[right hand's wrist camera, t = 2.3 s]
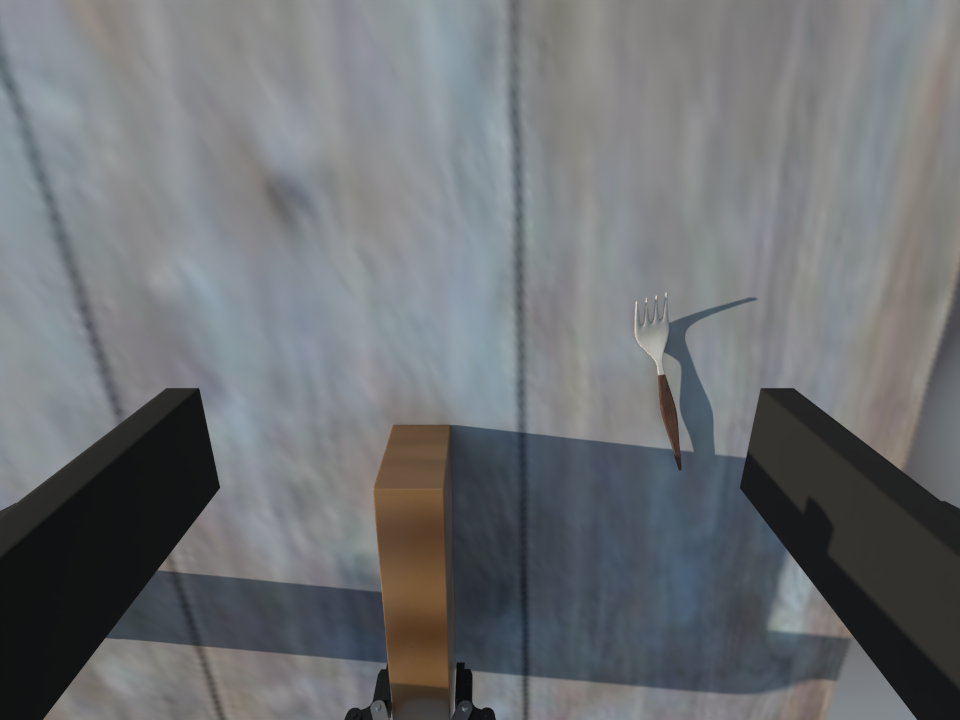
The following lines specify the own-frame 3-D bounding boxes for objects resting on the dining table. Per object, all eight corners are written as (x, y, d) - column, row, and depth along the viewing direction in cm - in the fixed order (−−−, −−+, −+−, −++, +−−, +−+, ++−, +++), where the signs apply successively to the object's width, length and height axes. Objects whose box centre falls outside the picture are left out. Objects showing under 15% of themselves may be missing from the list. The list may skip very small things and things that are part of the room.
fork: (662, 470, 46) (670, 484, 44) (626, 294, 40) (633, 302, 38) (693, 463, 45) (702, 476, 43) (661, 285, 40) (670, 291, 38)
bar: (392, 424, 44) (372, 488, 36) (450, 424, 44) (443, 488, 36) (408, 656, 54) (395, 749, 45) (455, 656, 54) (451, 749, 45)
